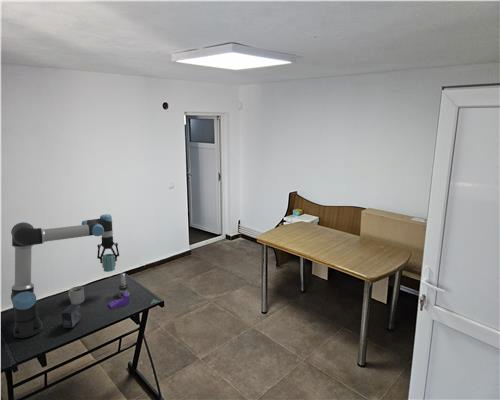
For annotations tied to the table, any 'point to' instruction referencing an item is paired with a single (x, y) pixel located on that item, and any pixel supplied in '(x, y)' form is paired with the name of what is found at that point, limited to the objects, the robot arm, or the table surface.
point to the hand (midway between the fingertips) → (109, 266)
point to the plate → (122, 296)
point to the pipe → (123, 283)
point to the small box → (71, 316)
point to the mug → (76, 295)
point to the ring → (123, 287)
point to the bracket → (120, 302)
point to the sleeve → (108, 262)
